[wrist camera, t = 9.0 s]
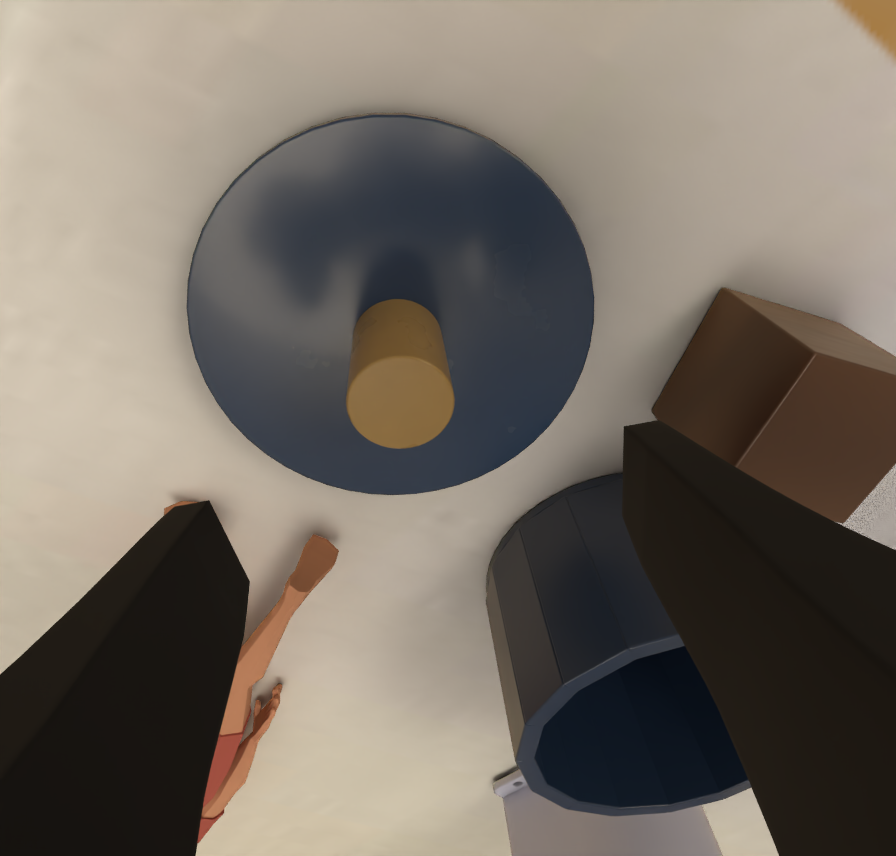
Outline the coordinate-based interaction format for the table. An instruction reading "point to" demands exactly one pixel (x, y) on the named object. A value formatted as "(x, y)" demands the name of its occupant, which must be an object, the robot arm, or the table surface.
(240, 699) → the character figure
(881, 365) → the block
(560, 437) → the table surface
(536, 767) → the cup
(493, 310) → the lid
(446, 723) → the table surface
